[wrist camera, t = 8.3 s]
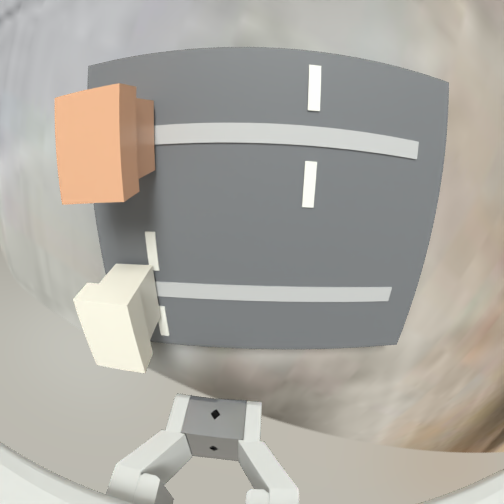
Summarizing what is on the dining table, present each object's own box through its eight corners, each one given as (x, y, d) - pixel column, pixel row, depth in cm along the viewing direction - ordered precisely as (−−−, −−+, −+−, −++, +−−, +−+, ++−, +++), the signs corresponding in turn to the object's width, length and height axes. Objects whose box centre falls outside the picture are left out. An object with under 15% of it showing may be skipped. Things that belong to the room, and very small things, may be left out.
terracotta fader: (159, 92, 12) (119, 83, 8) (160, 177, 14) (124, 201, 10) (106, 99, 12) (54, 98, 8) (109, 180, 14) (62, 204, 10)
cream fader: (156, 259, 16) (126, 305, 12) (165, 321, 18) (145, 373, 14) (110, 257, 16) (73, 299, 12) (123, 317, 18) (96, 365, 14)
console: (435, 83, 13) (449, 82, 12) (390, 331, 21) (396, 345, 19) (100, 68, 13) (87, 65, 12) (128, 325, 21) (121, 338, 19)
